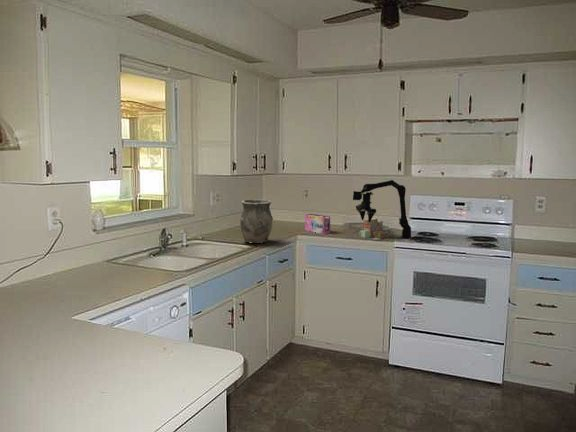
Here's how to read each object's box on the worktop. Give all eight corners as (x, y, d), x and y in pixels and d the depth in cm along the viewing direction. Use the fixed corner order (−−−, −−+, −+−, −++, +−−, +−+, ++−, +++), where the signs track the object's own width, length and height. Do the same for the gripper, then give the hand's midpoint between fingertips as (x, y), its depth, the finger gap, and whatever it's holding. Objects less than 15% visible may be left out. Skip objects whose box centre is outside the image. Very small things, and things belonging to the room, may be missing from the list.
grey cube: (391, 235, 369) (391, 229, 368) (386, 235, 367) (386, 229, 366) (387, 234, 373) (387, 228, 373) (382, 234, 371) (382, 228, 371)
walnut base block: (388, 237, 357) (388, 232, 357) (380, 238, 354) (380, 233, 353) (382, 236, 364) (382, 231, 364) (373, 237, 361) (373, 231, 360)
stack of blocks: (375, 231, 388) (376, 216, 386) (382, 232, 384) (383, 217, 383) (363, 234, 371) (363, 219, 370) (370, 235, 367) (370, 220, 366)
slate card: (383, 240, 348) (383, 239, 348) (375, 240, 345) (375, 239, 345) (377, 238, 354) (377, 237, 354) (369, 239, 351) (369, 238, 351)
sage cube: (370, 237, 360) (370, 230, 359) (365, 237, 358) (365, 231, 357) (366, 236, 364) (366, 229, 364) (361, 236, 362) (361, 230, 362)
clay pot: (236, 244, 331) (236, 201, 327) (245, 238, 353) (244, 198, 349) (268, 245, 327) (268, 202, 323) (275, 239, 349) (274, 199, 345)
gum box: (331, 233, 377) (332, 216, 376) (324, 234, 372) (324, 217, 371) (311, 229, 396) (311, 213, 394) (304, 230, 391) (304, 214, 389)
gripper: (350, 199, 363) (350, 219, 365) (364, 202, 346) (363, 223, 349) (363, 199, 368) (362, 219, 370) (377, 201, 351) (376, 222, 353)
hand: (365, 221), depth 360 cm, fingers open, 9 cm apart
